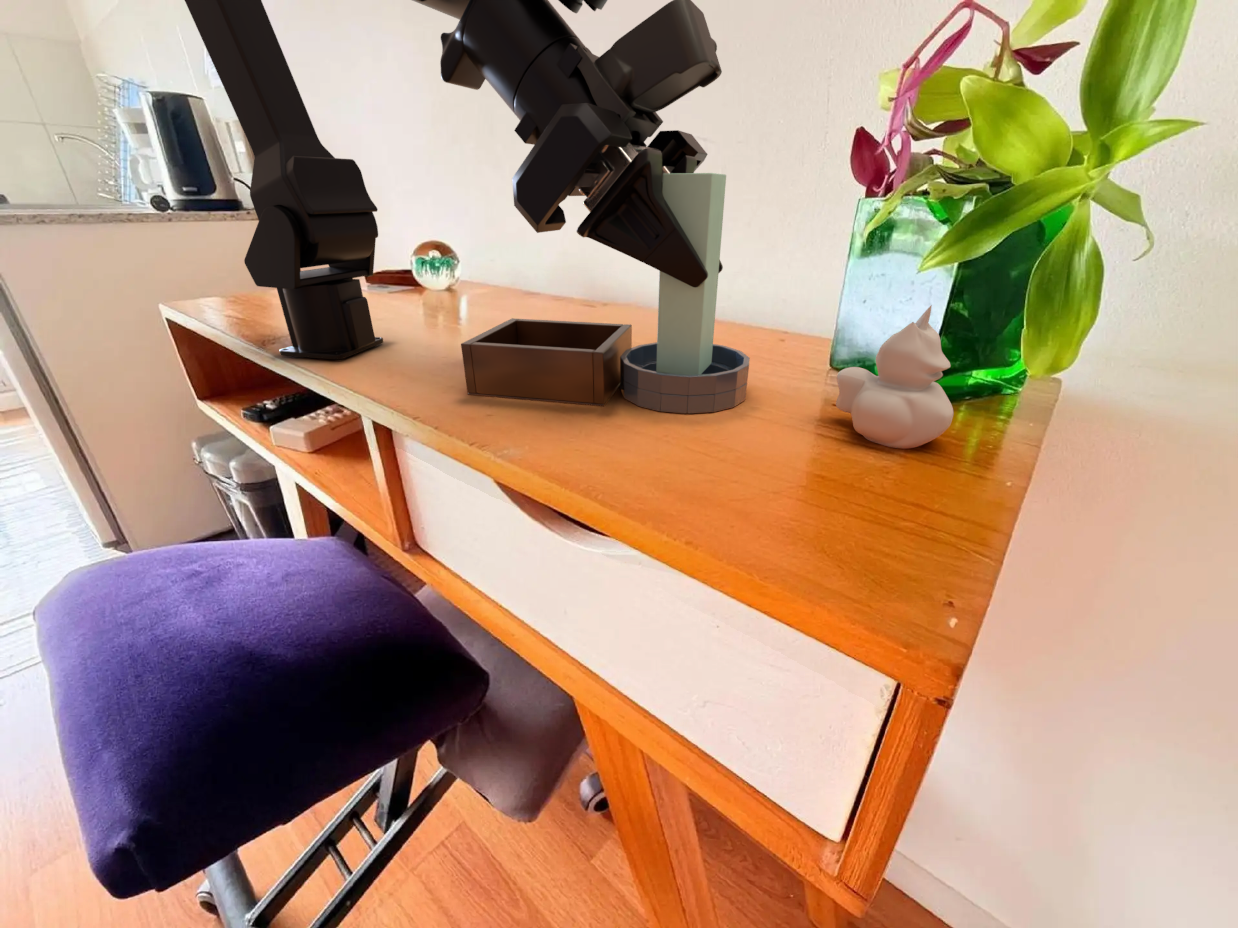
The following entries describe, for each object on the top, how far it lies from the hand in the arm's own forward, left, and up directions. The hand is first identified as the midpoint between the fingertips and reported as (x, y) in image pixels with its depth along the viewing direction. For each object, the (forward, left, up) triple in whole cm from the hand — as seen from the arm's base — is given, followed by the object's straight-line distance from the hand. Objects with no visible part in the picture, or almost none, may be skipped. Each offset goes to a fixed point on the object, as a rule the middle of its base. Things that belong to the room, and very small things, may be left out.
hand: (710, 278), depth 35 cm
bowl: (-1, 0, -8) cm, 8 cm away
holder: (-11, 0, -8) cm, 14 cm away
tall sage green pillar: (-1, 0, -6) cm, 6 cm away
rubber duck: (+11, -4, -8) cm, 15 cm away
